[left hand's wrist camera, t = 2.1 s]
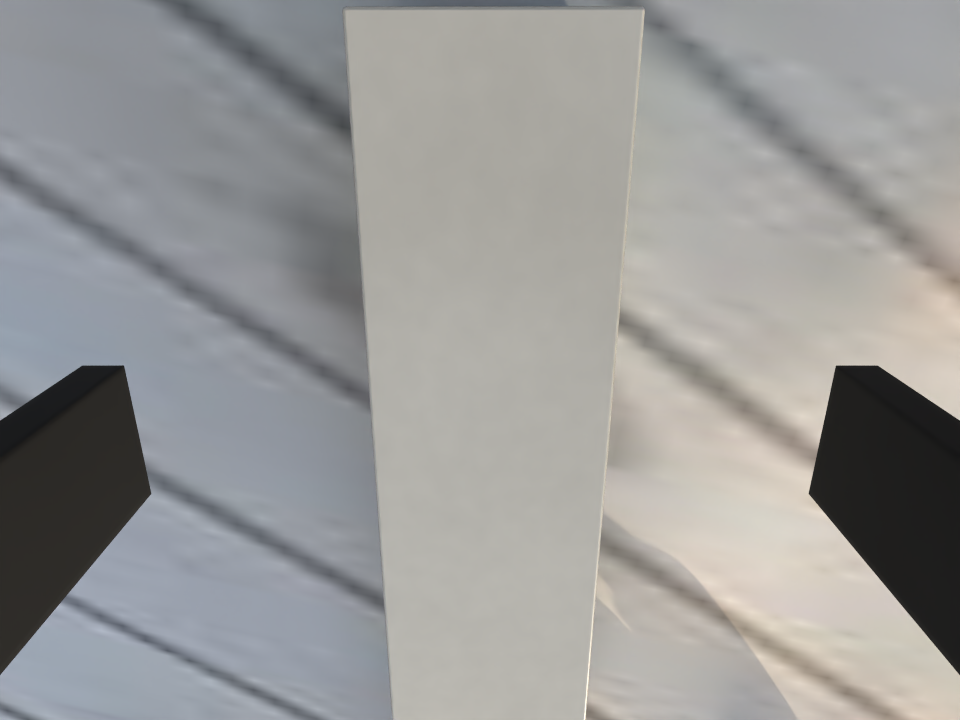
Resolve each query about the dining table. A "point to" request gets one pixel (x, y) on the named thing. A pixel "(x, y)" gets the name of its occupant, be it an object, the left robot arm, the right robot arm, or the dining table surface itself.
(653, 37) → the dining table surface
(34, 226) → the dining table surface
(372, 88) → the beam
